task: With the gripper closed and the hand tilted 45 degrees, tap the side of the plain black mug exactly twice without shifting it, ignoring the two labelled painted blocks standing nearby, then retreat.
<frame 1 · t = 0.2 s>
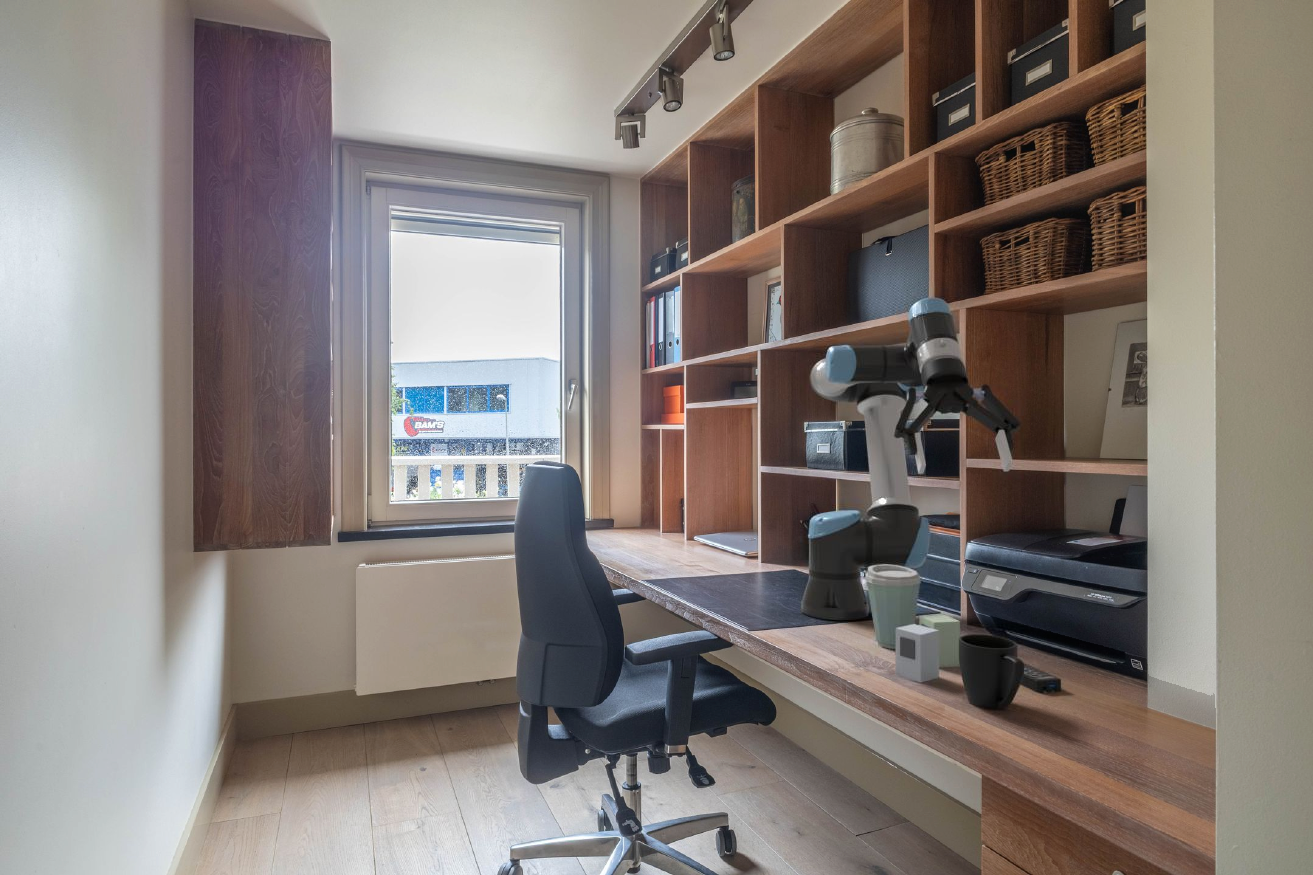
hand: (965, 468, 121), 36 cm above the table, tool tilted 35°, fingers open, 13 cm apart
disposable coffee cup: (892, 646, 143), on the table
block sage: (939, 662, 132), on the table
mug: (994, 708, 110), on the table
multiport hub: (1026, 684, 122), on the table
block grey: (917, 675, 125), on the table
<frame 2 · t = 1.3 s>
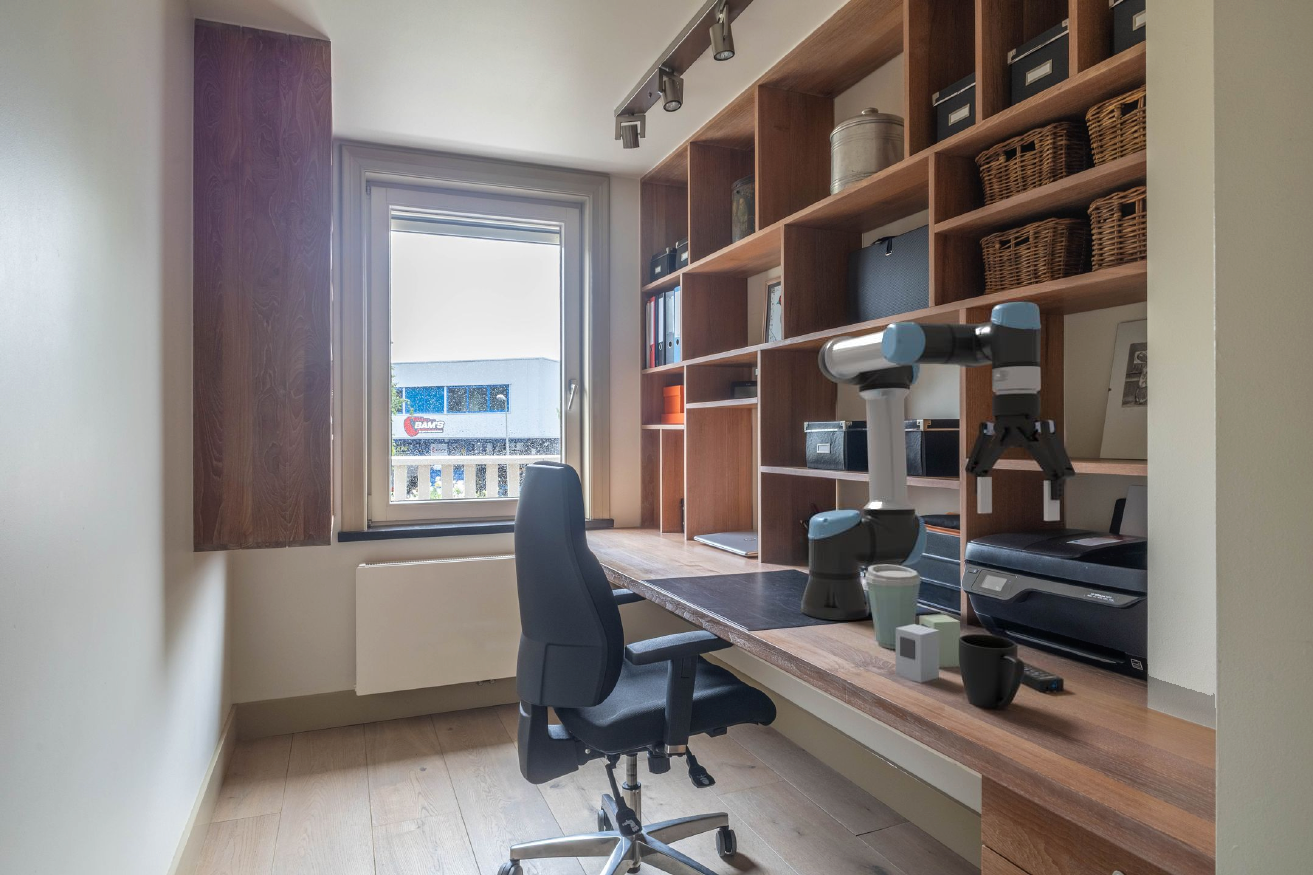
hand: (1016, 516, 126), 27 cm above the table, tool pointing down, fingers open, 13 cm apart
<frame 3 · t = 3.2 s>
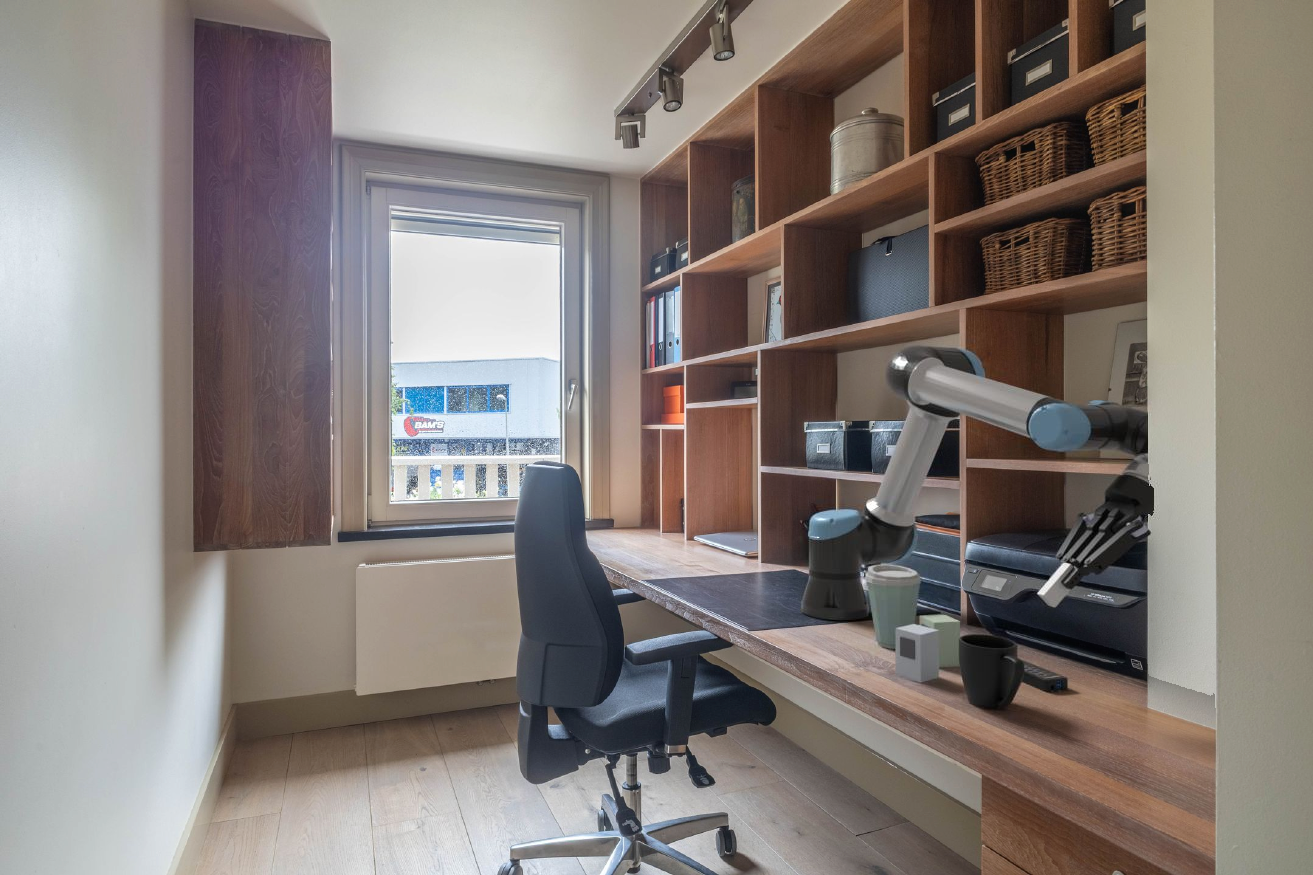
hand: (1046, 600, 112), 16 cm above the table, tool tilted 45°, fingers closed
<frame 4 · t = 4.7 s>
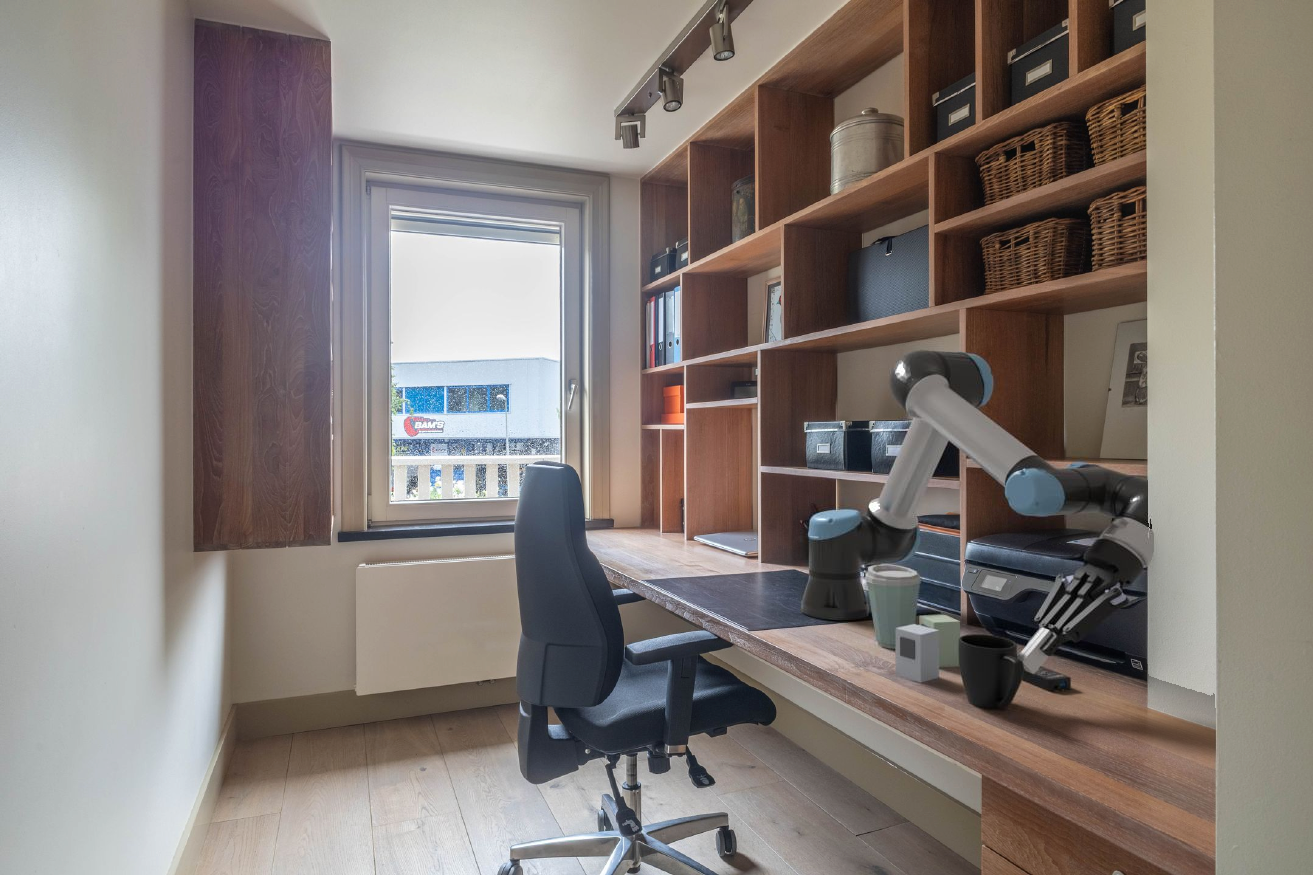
hand: (1024, 666, 111), 6 cm above the table, tool tilted 45°, fingers closed
mug: (994, 709, 110), on the table, touching gripper
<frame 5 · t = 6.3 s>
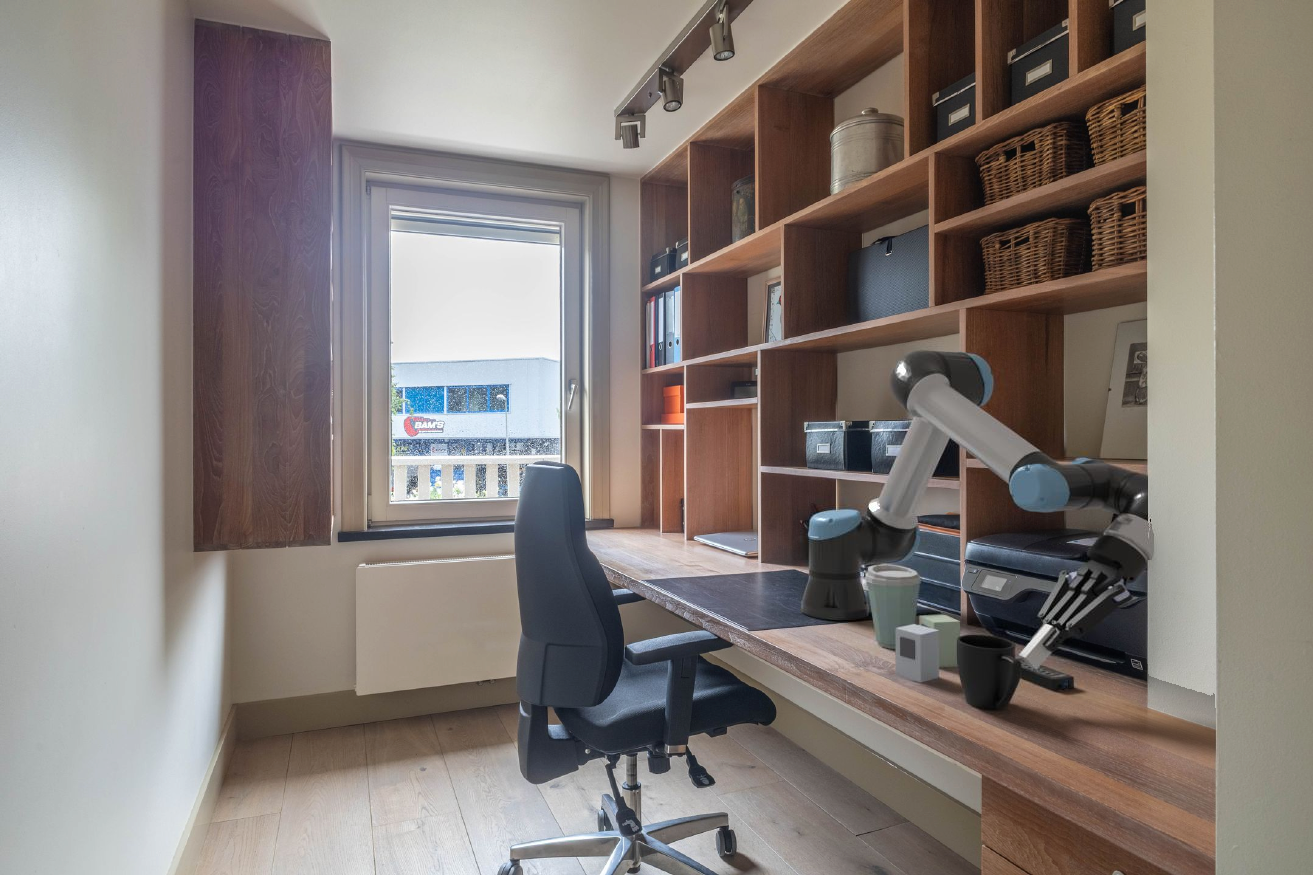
hand: (1027, 662, 111), 7 cm above the table, tool tilted 45°, fingers closed
mug: (992, 709, 110), on the table
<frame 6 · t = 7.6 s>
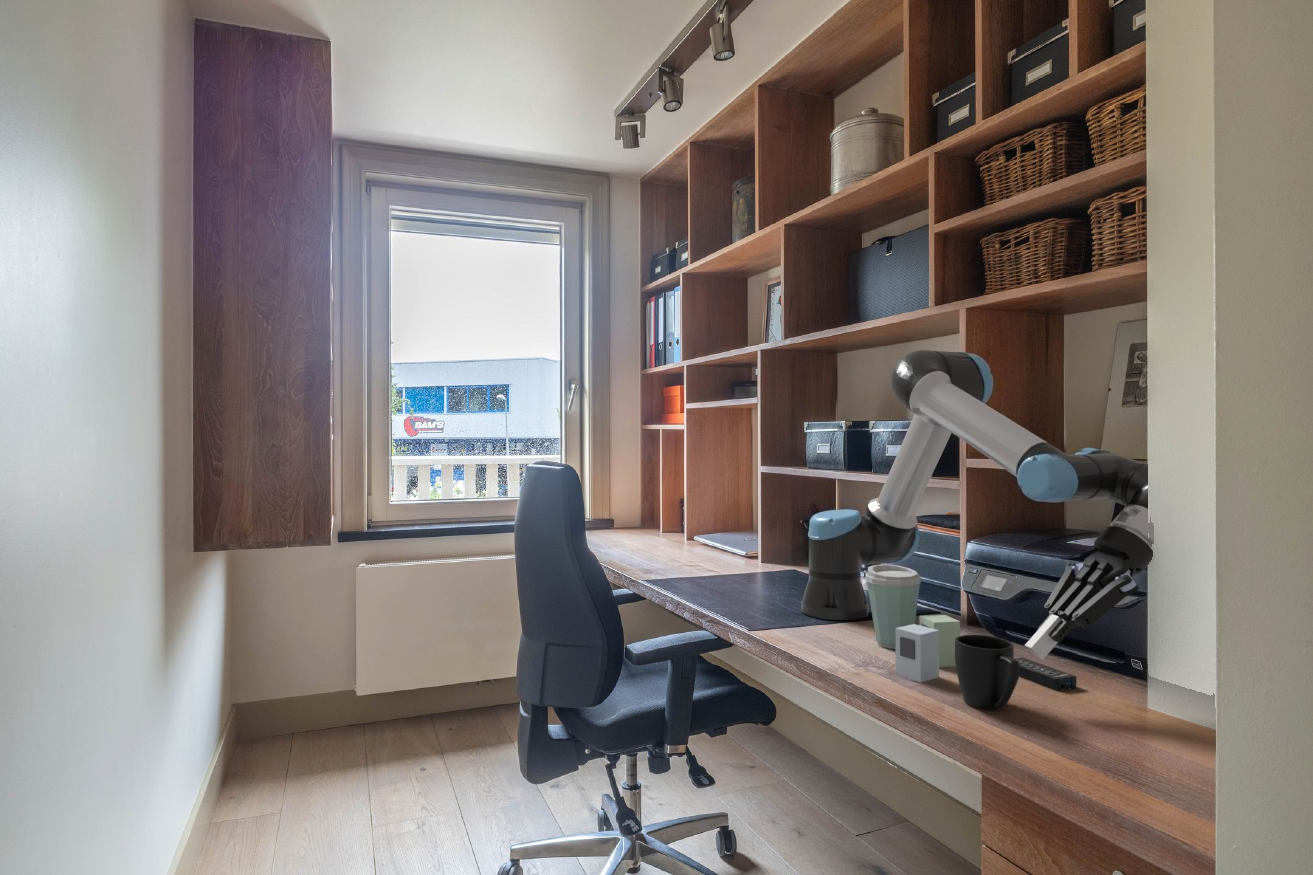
hand: (1033, 652, 111), 8 cm above the table, tool tilted 45°, fingers closed
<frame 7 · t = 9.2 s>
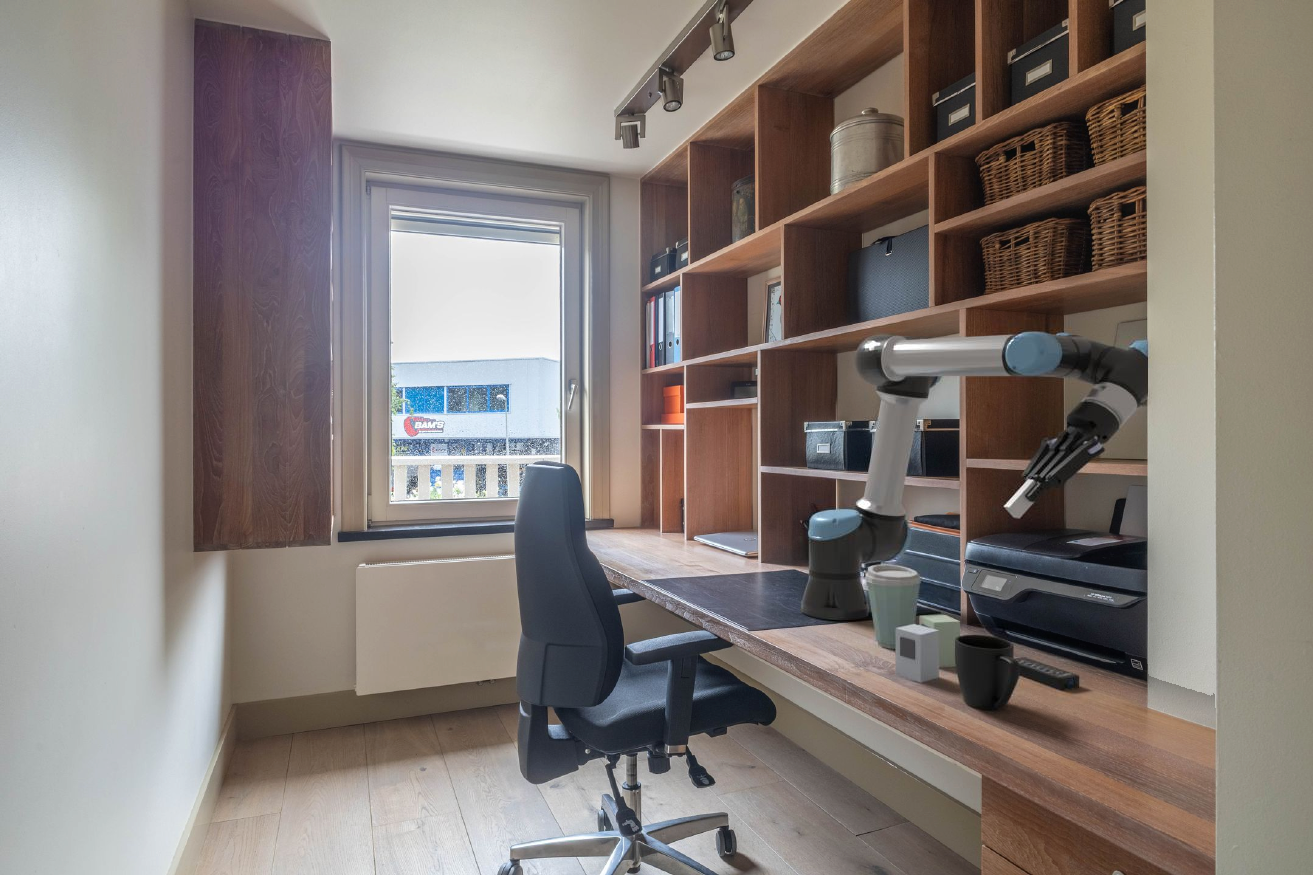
hand: (1011, 512, 124), 28 cm above the table, tool tilted 45°, fingers closed
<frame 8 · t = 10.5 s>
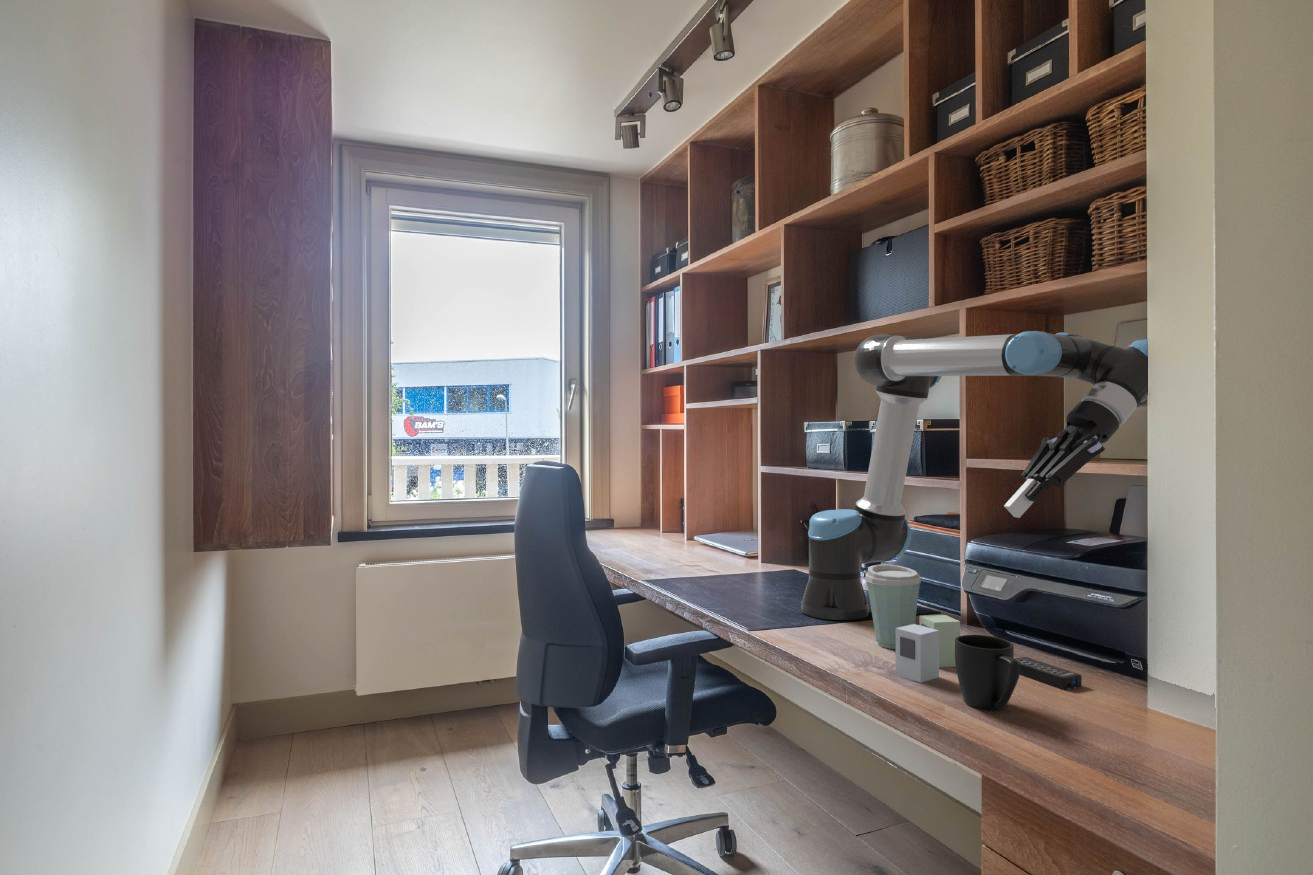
hand: (1011, 511, 124), 28 cm above the table, tool tilted 45°, fingers closed
at the end: mug moved 0.8 cm from its start; mug tilted 0°; the gripper is holding nothing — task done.
